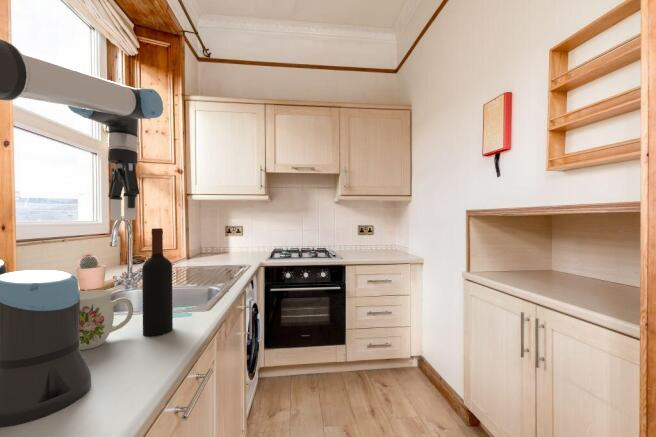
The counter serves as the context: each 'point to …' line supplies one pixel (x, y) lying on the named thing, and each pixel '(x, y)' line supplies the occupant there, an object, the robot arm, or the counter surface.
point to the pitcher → (98, 317)
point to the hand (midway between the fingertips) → (122, 220)
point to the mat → (182, 314)
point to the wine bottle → (157, 290)
